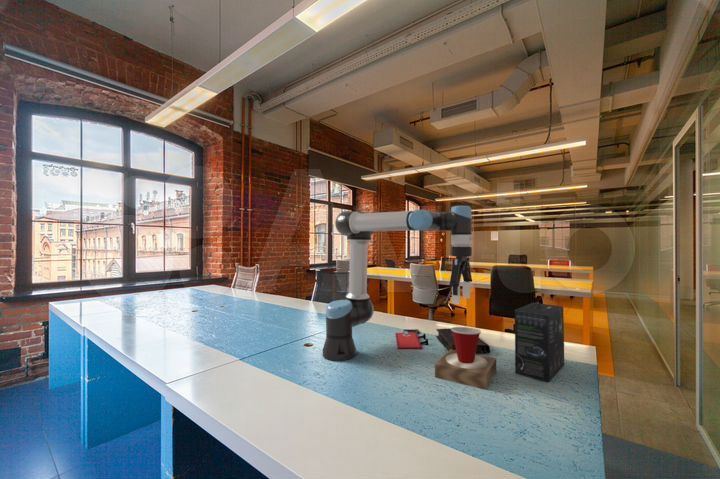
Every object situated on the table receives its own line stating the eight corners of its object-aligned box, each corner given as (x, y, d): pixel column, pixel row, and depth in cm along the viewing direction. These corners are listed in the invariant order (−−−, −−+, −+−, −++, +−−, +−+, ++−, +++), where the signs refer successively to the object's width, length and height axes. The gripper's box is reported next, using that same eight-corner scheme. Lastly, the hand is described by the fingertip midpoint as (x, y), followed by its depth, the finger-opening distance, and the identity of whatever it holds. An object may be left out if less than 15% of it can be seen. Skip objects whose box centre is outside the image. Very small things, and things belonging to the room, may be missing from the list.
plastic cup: (482, 357, 120) (481, 326, 120) (480, 368, 110) (480, 334, 110) (453, 353, 124) (452, 323, 124) (449, 363, 114) (448, 331, 114)
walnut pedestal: (435, 377, 115) (434, 363, 115) (450, 361, 130) (450, 348, 130) (486, 389, 105) (486, 374, 105) (496, 370, 119) (496, 357, 119)
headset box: (532, 357, 133) (531, 297, 133) (565, 365, 124) (564, 300, 124) (513, 373, 117) (512, 305, 117) (549, 383, 109) (548, 310, 109)
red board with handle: (421, 330, 173) (394, 331, 174) (421, 325, 173) (394, 326, 174) (430, 350, 143) (398, 350, 144) (430, 344, 143) (397, 344, 144)
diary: (469, 337, 162) (469, 328, 162) (490, 355, 137) (490, 344, 137) (434, 337, 162) (434, 328, 162) (448, 355, 137) (448, 344, 137)
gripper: (461, 246, 107) (461, 308, 107) (479, 245, 128) (479, 296, 128) (440, 246, 111) (440, 305, 111) (461, 245, 132) (461, 294, 132)
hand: (461, 300), depth 120 cm, fingers open, 13 cm apart
